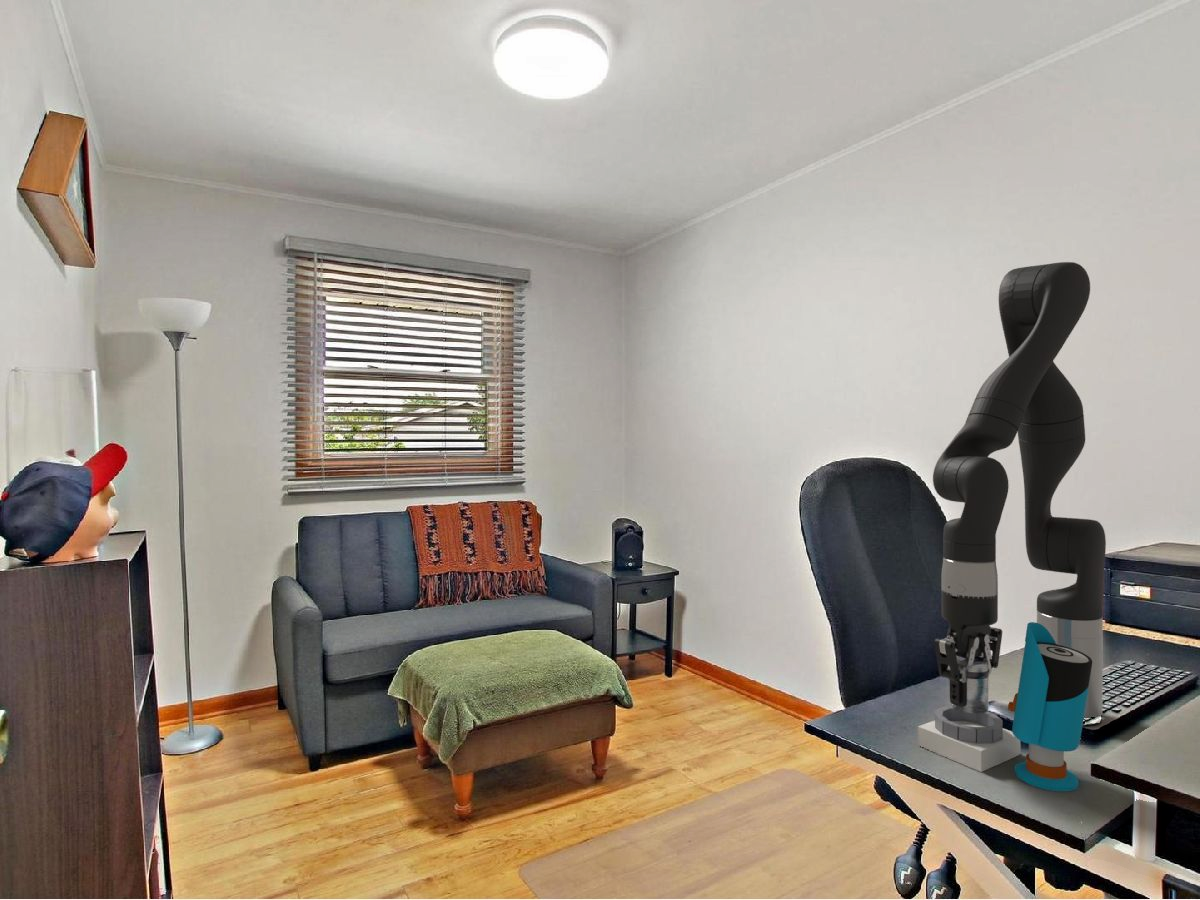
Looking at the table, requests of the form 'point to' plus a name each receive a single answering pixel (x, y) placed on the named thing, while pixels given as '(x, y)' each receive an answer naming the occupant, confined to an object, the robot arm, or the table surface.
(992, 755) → the mount
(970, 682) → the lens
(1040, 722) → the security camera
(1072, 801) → the table surface
